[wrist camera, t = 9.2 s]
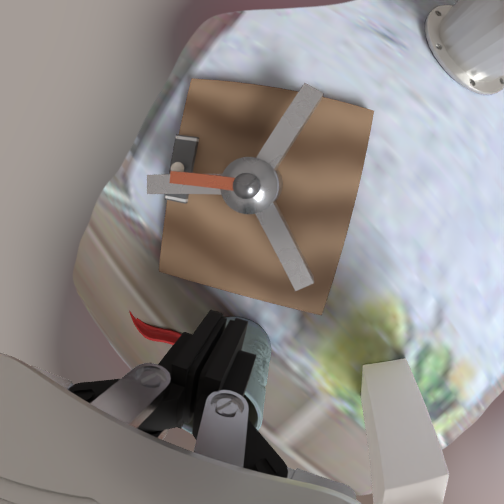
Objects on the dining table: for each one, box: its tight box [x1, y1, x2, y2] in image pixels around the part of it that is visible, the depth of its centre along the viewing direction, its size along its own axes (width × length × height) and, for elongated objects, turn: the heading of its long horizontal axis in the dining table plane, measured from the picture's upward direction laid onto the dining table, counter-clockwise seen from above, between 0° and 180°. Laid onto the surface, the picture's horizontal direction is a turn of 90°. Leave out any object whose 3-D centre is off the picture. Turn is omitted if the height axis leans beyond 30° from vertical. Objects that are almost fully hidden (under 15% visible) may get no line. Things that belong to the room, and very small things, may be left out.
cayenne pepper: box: [129, 310, 182, 345], centre depth 37 cm, size 12×5×2 cm, turn 55°
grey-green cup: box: [182, 317, 271, 434], centre depth 30 cm, size 10×10×12 cm
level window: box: [165, 134, 199, 204], centre depth 29 cm, size 7×2×1 cm, turn 168°
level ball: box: [171, 162, 184, 172], centre depth 28 cm, size 1×1×1 cm
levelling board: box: [159, 79, 374, 315], centre depth 29 cm, size 22×19×2 cm
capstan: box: [147, 83, 323, 291], centre depth 25 cm, size 16×18×6 cm
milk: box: [361, 358, 449, 504], centre depth 23 cm, size 6×6×22 cm
